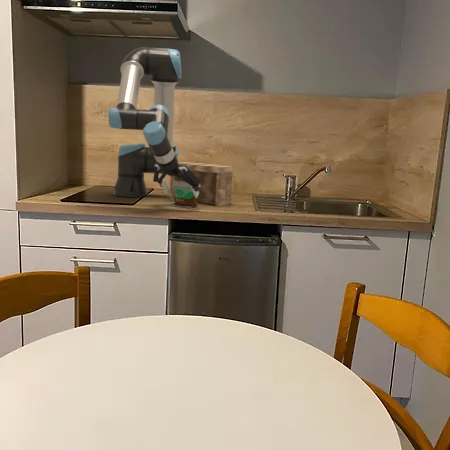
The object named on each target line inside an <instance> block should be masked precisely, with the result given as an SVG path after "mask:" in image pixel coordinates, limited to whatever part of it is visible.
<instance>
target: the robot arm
mask: <svg viewBox="0 0 450 450" xmlns="http://www.w3.org/2000/svg"><path fill="white" fill-rule="evenodd" d="M119 71H120V73H121V78H120V84H119V89H118V94H117V101H116V107H111V108H109V110H108V115H107V117H108V118H107V119H108V126H109V127H110V128H111V129H118V130H131V131H132V130H138V131H142V132H143V133H142V135H143V136H144V140H145V141H146V143H147V145H148V146H146V145H145V143H132V144H131V143H130V144H122V145H120V146H119V148H118V153H117V157H118V158H117V159H118V163H117V165H118V167H117V180H116V182H115V185H114V188H113V196H116V197H122V198H145V197H148V189H147V184H146V181H145V174H153V180H152V182H154V183H157V184H159V186H160V188H161V189H162V190H163V192H164V194H165V195H167V196H168V194H169V193H170V186H169V185H168V182H167V181H166V179H165V178H166V176H169V177H170V176H176V177H178V178H181V179H182V180H184V181H185V182H187V183H188V184H189V185H191V189H192V191H193V194H194V196H195V198H197V197H198V195H199V191H198V189H199V188H198V186H199V184H200V182H201V181H200V180H199V179H198V178H197V177H196V176H195V175H194V174H193V173H192V172H191V171H190V170H189V169H188V167H187V166H186V165H184V167H180V166H179V165H178V162H179V160H178V157H179V152H180V150H179V148H176V147H177V145H176V143H175V142H174V141H173V138H174V137H173V135H174V110H175V109H174V108H175V106H174V105H175V86H176V85H177V84H179V79H182V61H181V53H180V51H179V50H177V49H173V48H167V47H166V48H165V47H148V46H142V47H138V48H135V49H133V50H131V51H130V52H129V53H128V54H127V55H126V56H125V57H124V59H122V61H121V64H120V70H119ZM144 76H145V77H150V81H151V82H152V84H153V85H154V92H153V93H154V94H153V95H154V96H153V105H152V106H151V107H150V108H149V109H139V108H138V109H137V105H138V101H139V95H140V94H139V93H140V86H141V85H140V84H141V79H143V77H144ZM179 172H180V174H179ZM160 174H161V175H160ZM178 174H179V175H178ZM159 175H160V177H159Z"/></svg>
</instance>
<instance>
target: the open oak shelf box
mask: <svg viewBox="0 0 450 450" xmlns="http://www.w3.org/2000/svg"><path fill="white" fill-rule="evenodd" d="M178 165H179V166H180V167H184V165H186V166H187V167H188V169H189V170H190V171H191V172H192V173H193V174H194V175H195V176H196V177H197V178H198V179H199V180H200V181H201V182H200V185H201V187H199V195H198V199H197V203H201V202H203V203H202V204H209V203H210V204H211V205H214V206H215V207H219V208H220V207H223V206H226V205H230V204H232V191H233V173H234V166H233V165H225V164H223V165H222V164H215V163H214V164H213V163H212V164H211V163H202V162H189V161H178ZM179 174H180V172H179ZM179 174H178V175H179ZM169 177H170V180H169V189H170V190H169V201H170V202H171V201H172V202H175V197H174V186H173V185H172V184H173V181H174V180H175V181H181V182H185V181H184V180H182V179H181V178H178V177H176V176H169Z"/></svg>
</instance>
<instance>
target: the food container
mask: <svg viewBox="0 0 450 450" xmlns="http://www.w3.org/2000/svg"><path fill="white" fill-rule="evenodd" d="M172 185H173V186H174V197H175V201H174V203H175V205H178V206H196V207H198V202H197V199H198V197H197V198H195V196H194V194H193V191H192V189H191V185H189V184H188V183H187V182H181V181H175V180H174V181H173V184H172ZM199 187H201V185H200V184H199V186H198V188H199ZM198 191H199V189H198Z"/></svg>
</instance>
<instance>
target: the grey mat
mask: <svg viewBox="0 0 450 450" xmlns="http://www.w3.org/2000/svg"><path fill="white" fill-rule="evenodd" d="M164 206H166V207H167V206H168V207H176V208H183V209H191V208H195V206H178V205H175V202H170V203H166V204H164Z"/></svg>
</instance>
